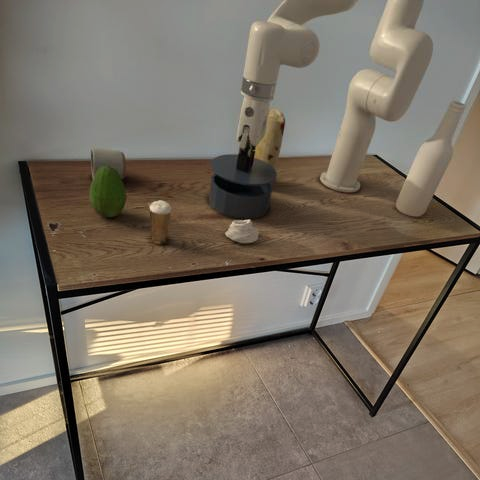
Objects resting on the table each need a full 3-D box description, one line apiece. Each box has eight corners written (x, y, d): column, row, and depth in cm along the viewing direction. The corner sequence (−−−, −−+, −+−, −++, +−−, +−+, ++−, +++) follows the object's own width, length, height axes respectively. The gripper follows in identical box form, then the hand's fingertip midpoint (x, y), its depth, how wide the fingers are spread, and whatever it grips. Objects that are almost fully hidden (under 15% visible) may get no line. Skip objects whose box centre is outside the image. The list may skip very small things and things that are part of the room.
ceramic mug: (127, 184, 114) (126, 155, 109) (94, 185, 111) (92, 155, 106) (120, 167, 121) (119, 139, 116) (89, 167, 118) (87, 138, 113)
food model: (276, 190, 126) (293, 118, 112) (255, 190, 123) (269, 117, 110) (265, 175, 132) (280, 105, 119) (244, 174, 130) (257, 103, 117)
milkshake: (147, 232, 99) (148, 192, 92) (170, 236, 99) (173, 196, 93) (143, 243, 96) (143, 202, 89) (167, 247, 96) (170, 206, 89)
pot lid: (222, 152, 118) (225, 131, 114) (282, 169, 116) (287, 148, 112) (200, 175, 105) (203, 152, 101) (267, 194, 103) (272, 171, 99)
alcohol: (390, 208, 129) (436, 100, 109) (400, 199, 135) (446, 95, 115) (417, 220, 126) (471, 111, 106) (427, 211, 132) (479, 106, 112)
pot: (219, 184, 123) (222, 163, 119) (273, 199, 121) (278, 179, 117) (200, 207, 111) (202, 186, 107) (259, 225, 110) (263, 203, 106)
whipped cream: (231, 249, 101) (234, 233, 97) (218, 232, 105) (221, 215, 101) (261, 243, 104) (264, 226, 100) (248, 226, 108) (251, 209, 104)
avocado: (115, 227, 99) (114, 176, 91) (84, 217, 99) (79, 166, 91) (132, 212, 104) (132, 163, 96) (102, 202, 105) (99, 154, 97)
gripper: (265, 101, 91) (249, 184, 103) (282, 85, 103) (266, 161, 115) (231, 92, 92) (219, 175, 104) (251, 77, 104) (239, 153, 116)
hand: (244, 167), depth 109 cm, fingers closed on pot lid, 2 cm apart
